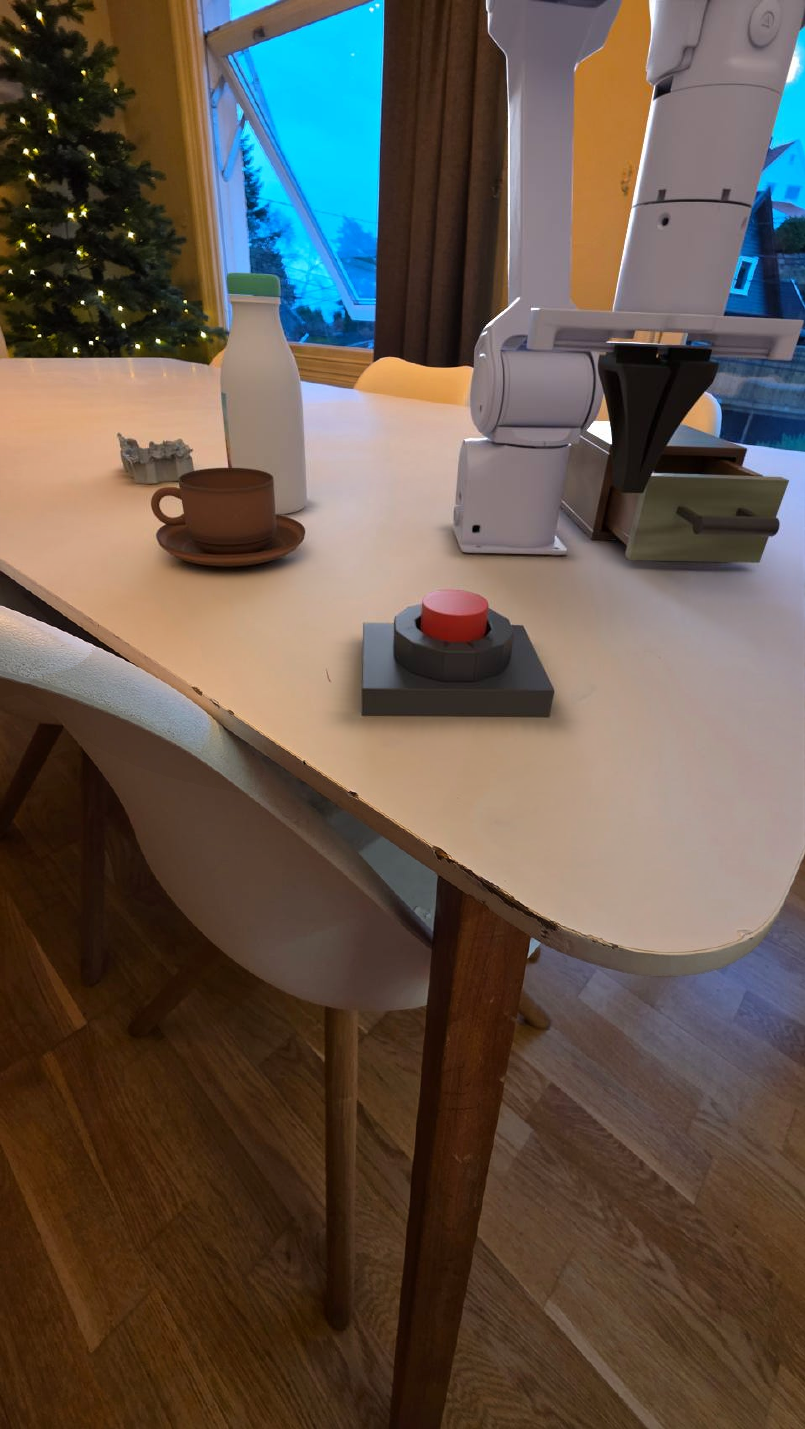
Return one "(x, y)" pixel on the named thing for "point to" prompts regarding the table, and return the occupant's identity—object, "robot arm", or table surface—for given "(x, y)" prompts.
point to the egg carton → (155, 460)
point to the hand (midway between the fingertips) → (627, 489)
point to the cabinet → (594, 471)
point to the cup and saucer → (226, 519)
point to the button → (454, 615)
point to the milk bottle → (263, 391)
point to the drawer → (697, 512)
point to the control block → (452, 671)
